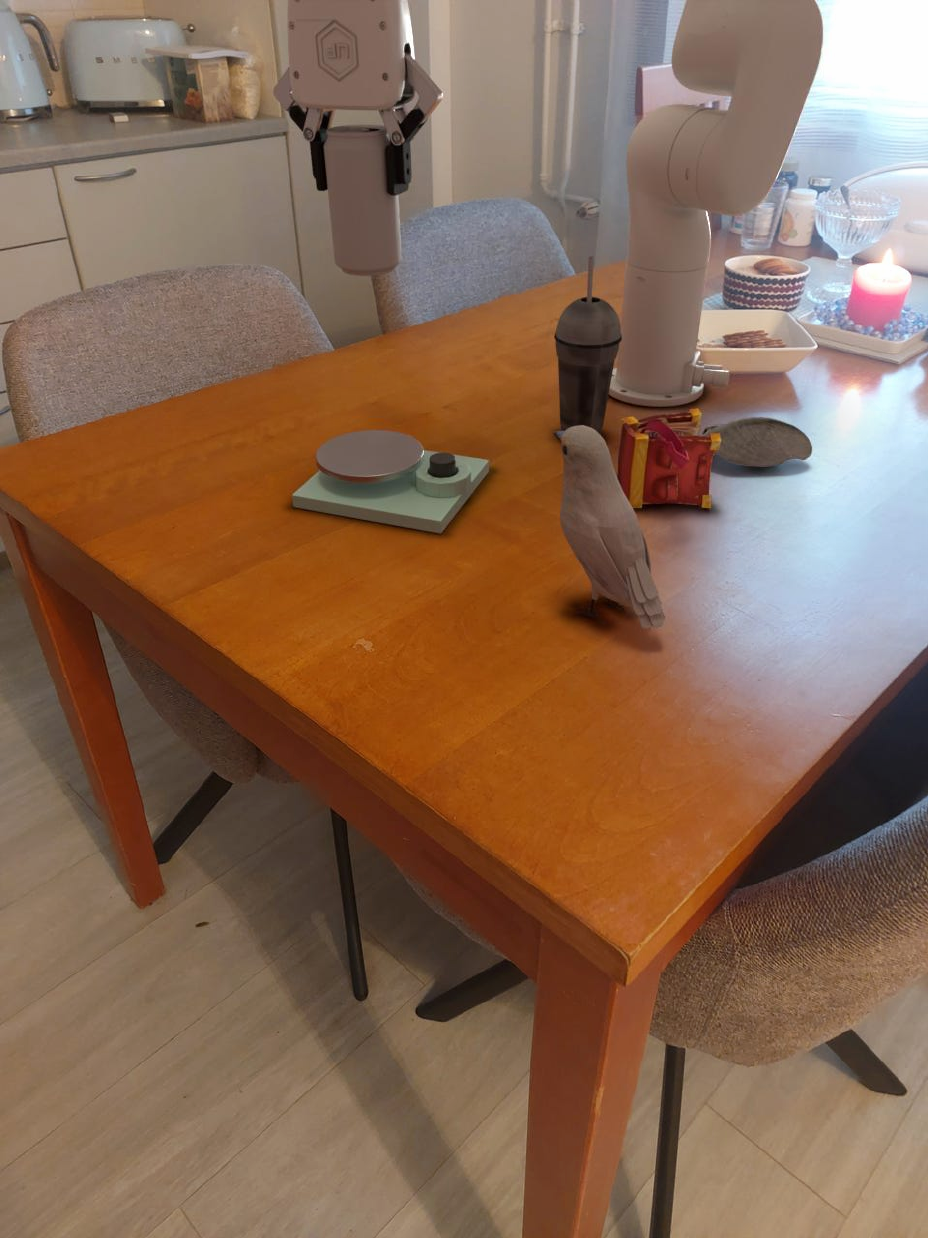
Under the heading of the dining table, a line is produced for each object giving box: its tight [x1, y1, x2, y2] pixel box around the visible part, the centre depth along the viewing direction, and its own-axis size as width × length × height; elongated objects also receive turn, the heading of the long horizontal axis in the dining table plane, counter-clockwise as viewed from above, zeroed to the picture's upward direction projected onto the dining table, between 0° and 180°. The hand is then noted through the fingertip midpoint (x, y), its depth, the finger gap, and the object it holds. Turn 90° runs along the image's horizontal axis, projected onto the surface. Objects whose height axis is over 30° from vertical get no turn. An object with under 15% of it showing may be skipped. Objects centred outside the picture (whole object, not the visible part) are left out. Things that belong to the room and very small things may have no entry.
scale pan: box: [315, 429, 425, 483], centre depth 91 cm, size 11×11×1 cm
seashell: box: [700, 416, 813, 468], centre depth 96 cm, size 12×8×5 cm
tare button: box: [429, 452, 456, 478], centre depth 89 cm, size 3×3×2 cm
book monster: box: [616, 408, 721, 509], centre depth 86 cm, size 11×9×12 cm
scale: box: [291, 449, 490, 535], centre depth 92 cm, size 16×14×3 cm
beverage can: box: [324, 124, 403, 277], centre depth 82 cm, size 6×6×12 cm
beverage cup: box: [553, 255, 622, 436], centre depth 97 cm, size 7×7×20 cm
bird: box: [552, 425, 666, 629], centre depth 70 cm, size 5×14×15 cm, turn 36°
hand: (362, 188), depth 81 cm, fingers closed on beverage can, 6 cm apart
